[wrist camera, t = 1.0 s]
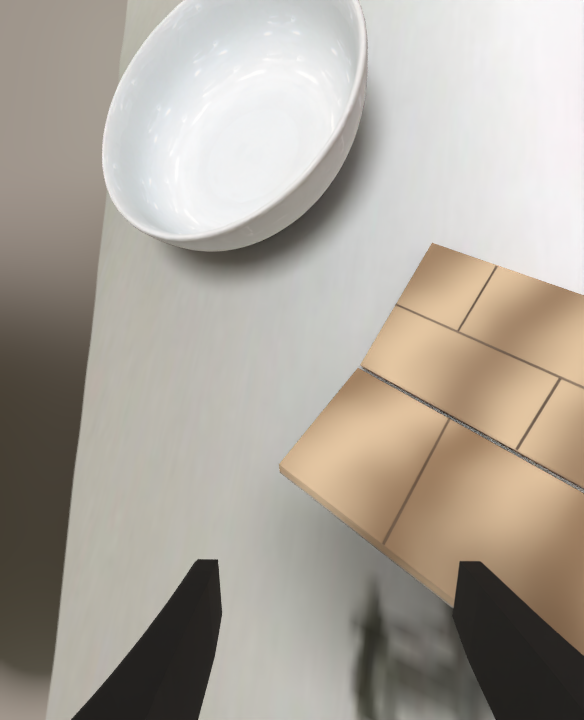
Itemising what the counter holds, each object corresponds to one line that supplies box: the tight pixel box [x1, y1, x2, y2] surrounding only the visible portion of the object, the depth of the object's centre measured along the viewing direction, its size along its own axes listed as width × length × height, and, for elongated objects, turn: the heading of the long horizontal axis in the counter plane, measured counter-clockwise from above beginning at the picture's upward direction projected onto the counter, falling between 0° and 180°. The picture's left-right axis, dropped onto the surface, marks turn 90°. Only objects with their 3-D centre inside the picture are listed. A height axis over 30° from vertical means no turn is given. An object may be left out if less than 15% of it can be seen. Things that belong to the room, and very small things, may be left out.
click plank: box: [279, 368, 584, 655], centre depth 17 cm, size 14×8×1 cm
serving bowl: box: [102, 0, 368, 251], centre depth 25 cm, size 21×21×7 cm
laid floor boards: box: [361, 243, 584, 489], centre depth 19 cm, size 14×9×1 cm, turn 58°
